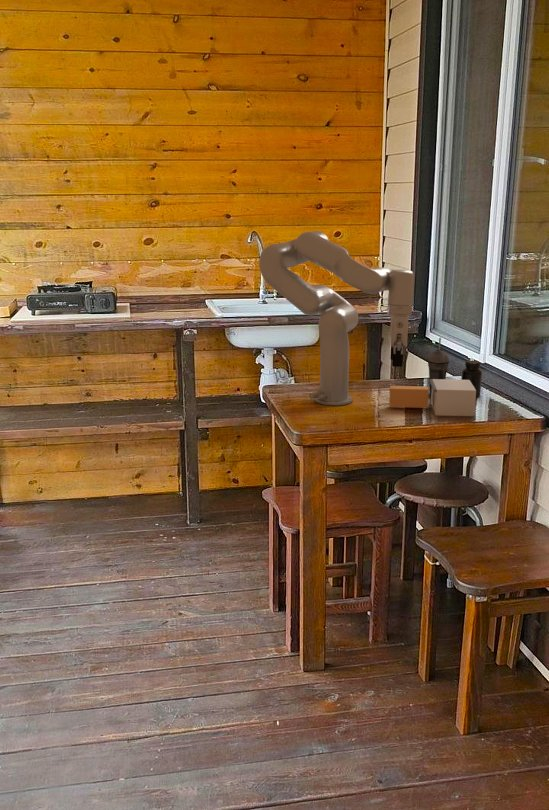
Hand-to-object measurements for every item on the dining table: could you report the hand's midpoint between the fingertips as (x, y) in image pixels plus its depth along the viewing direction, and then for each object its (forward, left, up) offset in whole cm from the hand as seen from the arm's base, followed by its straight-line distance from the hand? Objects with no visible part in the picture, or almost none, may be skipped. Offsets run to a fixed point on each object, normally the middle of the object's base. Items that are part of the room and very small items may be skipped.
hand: (396, 363), depth 240 cm
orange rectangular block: (+3, -3, -14) cm, 15 cm away
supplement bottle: (+32, -6, -15) cm, 36 cm away
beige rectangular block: (+13, -13, -15) cm, 24 cm away
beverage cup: (+25, +3, -15) cm, 29 cm away
